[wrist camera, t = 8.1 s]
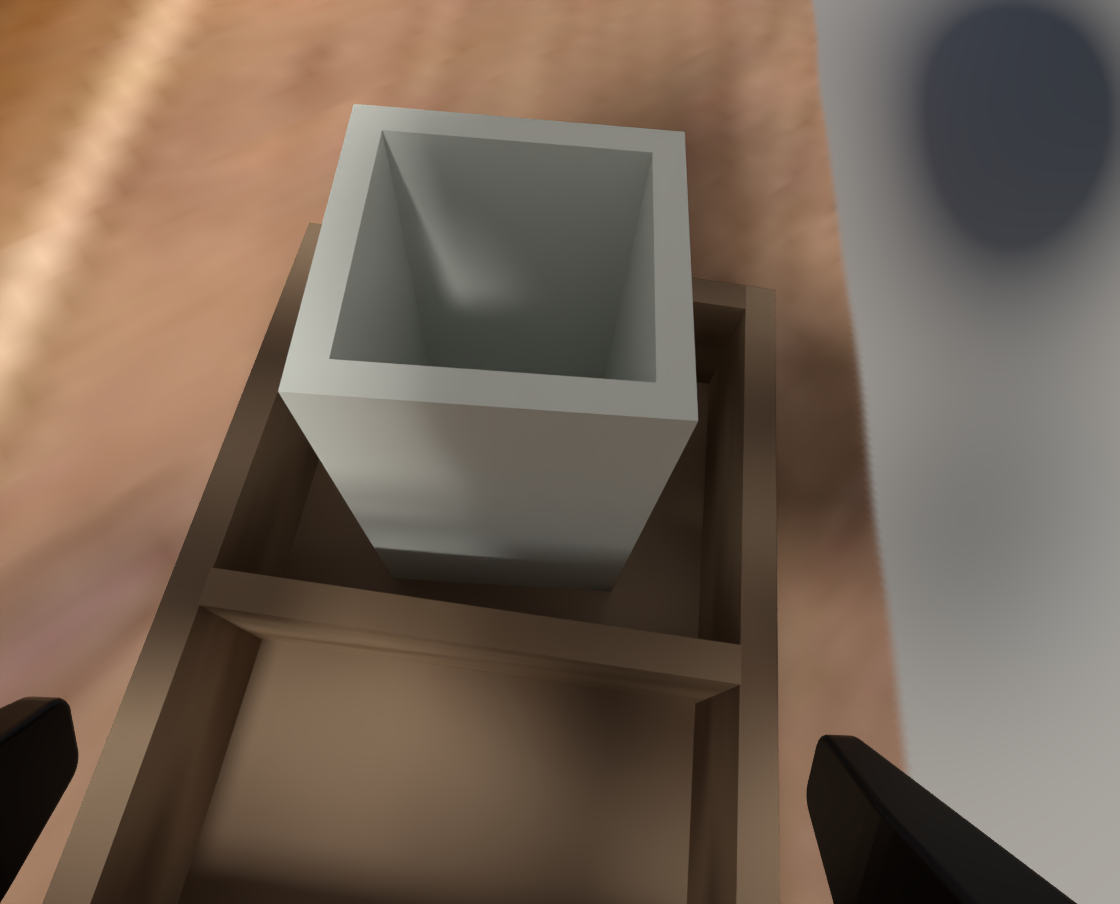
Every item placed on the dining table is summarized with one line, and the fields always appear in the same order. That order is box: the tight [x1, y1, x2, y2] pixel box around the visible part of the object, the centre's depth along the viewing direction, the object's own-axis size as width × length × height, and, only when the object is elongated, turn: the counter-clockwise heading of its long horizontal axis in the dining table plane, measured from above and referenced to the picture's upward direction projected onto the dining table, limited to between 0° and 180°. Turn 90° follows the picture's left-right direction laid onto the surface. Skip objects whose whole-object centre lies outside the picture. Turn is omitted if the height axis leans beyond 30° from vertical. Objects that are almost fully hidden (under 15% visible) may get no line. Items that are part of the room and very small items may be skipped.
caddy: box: [278, 104, 698, 592], centre depth 16 cm, size 6×6×10 cm
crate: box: [43, 223, 779, 904], centre depth 16 cm, size 20×13×5 cm, turn 172°
